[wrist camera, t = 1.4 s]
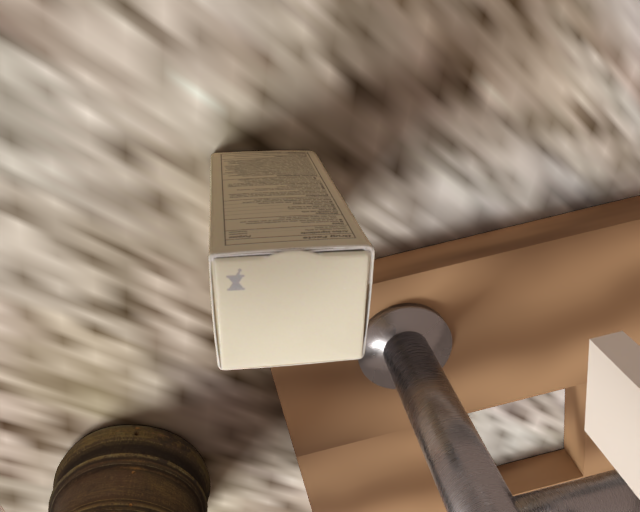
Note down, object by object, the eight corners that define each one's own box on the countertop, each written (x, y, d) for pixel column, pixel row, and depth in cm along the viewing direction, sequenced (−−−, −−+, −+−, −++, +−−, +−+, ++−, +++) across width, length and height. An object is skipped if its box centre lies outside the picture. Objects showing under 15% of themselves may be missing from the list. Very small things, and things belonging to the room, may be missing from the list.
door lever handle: (348, 316, 28) (423, 522, 17) (525, 273, 28) (704, 448, 18) (363, 391, 30) (437, 614, 19) (526, 350, 31) (685, 546, 20)
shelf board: (252, 288, 29) (254, 313, 27) (647, 193, 30) (679, 209, 28) (330, 558, 40) (336, 591, 38) (621, 481, 41) (642, 509, 38)
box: (214, 234, 27) (207, 374, 18) (209, 149, 26) (198, 253, 16) (319, 231, 28) (368, 364, 18) (322, 148, 26) (378, 246, 16)
